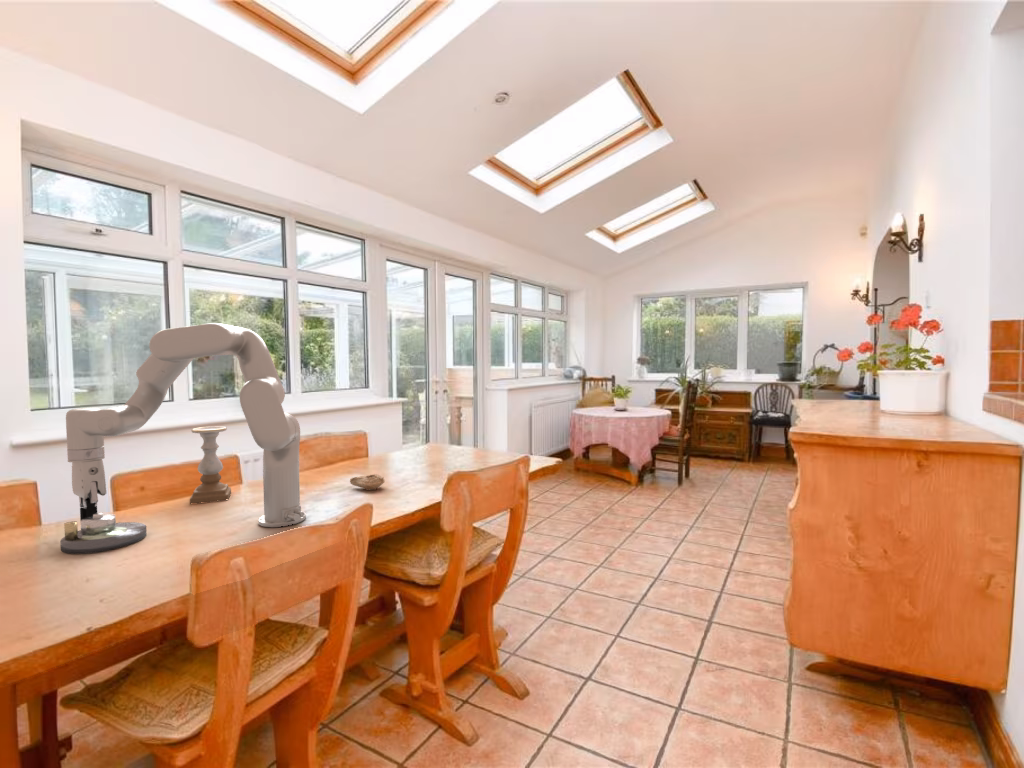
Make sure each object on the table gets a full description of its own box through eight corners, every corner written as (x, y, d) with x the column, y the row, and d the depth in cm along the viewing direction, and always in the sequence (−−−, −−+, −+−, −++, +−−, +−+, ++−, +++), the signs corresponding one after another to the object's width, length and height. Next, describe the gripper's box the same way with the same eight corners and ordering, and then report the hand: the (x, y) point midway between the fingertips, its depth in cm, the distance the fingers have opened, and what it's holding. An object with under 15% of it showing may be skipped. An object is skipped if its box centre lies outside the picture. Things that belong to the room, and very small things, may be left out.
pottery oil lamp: (355, 484, 184) (364, 466, 186) (381, 497, 181) (390, 479, 182) (343, 481, 176) (353, 463, 178) (370, 495, 173) (380, 476, 174)
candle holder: (194, 495, 169) (192, 427, 168) (231, 492, 174) (229, 425, 173) (189, 504, 159) (187, 431, 158) (228, 500, 164) (226, 429, 163)
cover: (120, 528, 130) (119, 512, 130) (86, 536, 124) (85, 519, 124) (110, 523, 134) (109, 508, 134) (76, 531, 128) (76, 515, 128)
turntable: (157, 537, 129) (157, 515, 129) (74, 559, 115) (72, 534, 114) (131, 525, 138) (130, 504, 138) (51, 544, 124) (50, 520, 124)
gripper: (114, 455, 131) (116, 523, 132) (94, 449, 139) (96, 513, 140) (77, 459, 125) (80, 531, 126) (59, 453, 133) (62, 520, 134)
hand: (89, 521), depth 133 cm, fingers closed
